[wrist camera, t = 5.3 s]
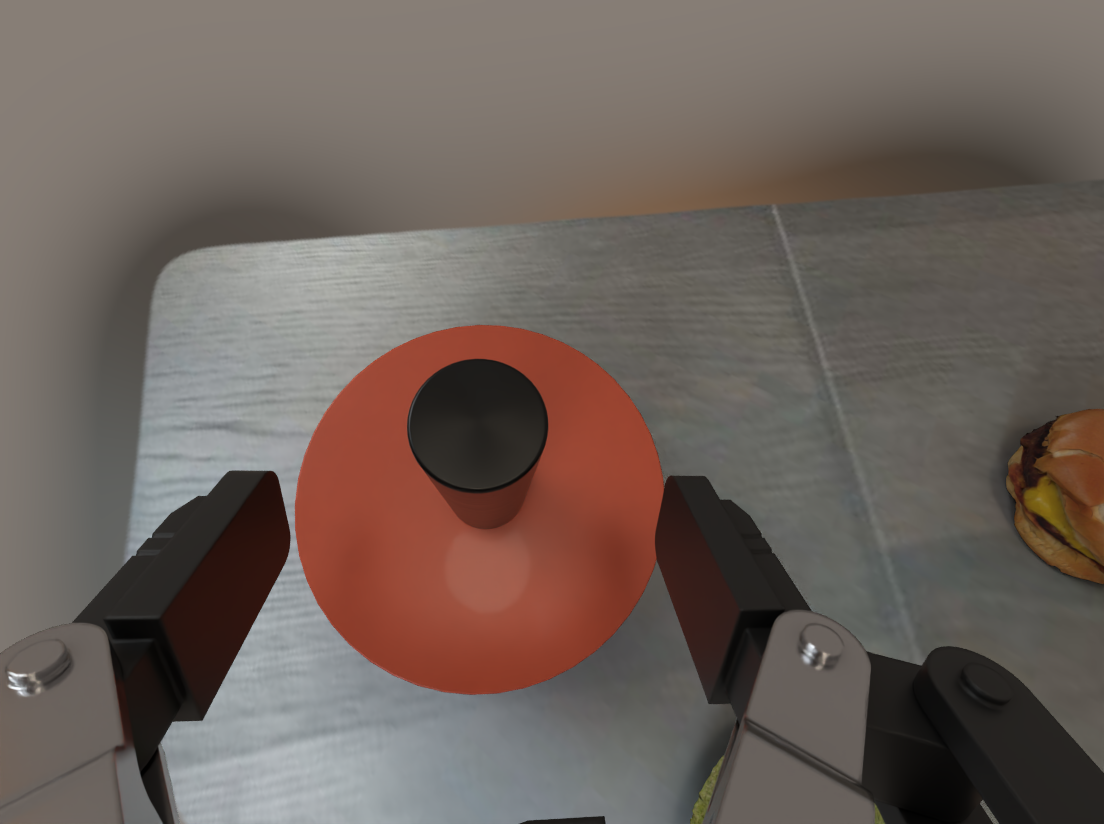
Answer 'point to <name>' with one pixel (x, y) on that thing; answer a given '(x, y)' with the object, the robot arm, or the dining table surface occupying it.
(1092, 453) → the burger
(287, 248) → the dining table surface
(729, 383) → the dining table surface
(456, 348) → the cooker lid
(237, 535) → the robot arm
